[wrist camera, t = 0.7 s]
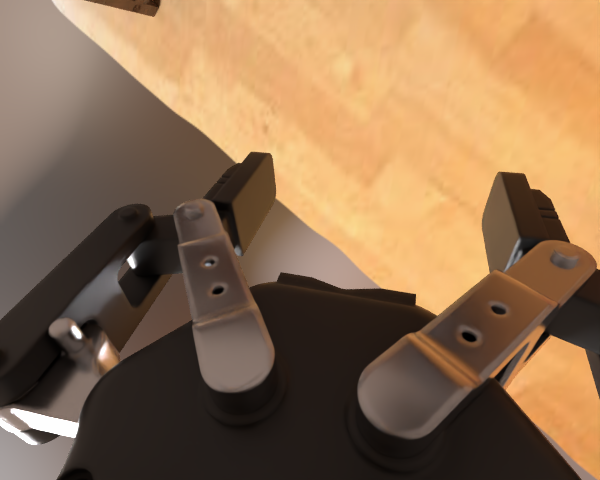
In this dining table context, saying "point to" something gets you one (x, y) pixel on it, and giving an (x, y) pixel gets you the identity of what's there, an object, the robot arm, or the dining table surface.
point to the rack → (131, 5)
